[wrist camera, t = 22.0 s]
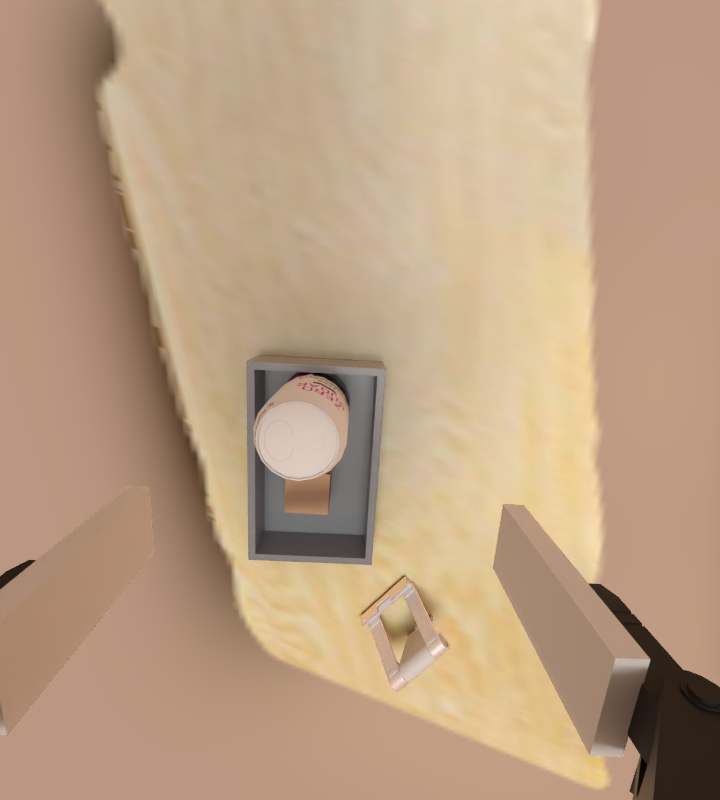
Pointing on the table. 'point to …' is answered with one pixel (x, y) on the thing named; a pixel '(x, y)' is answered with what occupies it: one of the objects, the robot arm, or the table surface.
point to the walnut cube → (308, 495)
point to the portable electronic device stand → (419, 644)
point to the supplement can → (304, 426)
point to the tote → (351, 477)
